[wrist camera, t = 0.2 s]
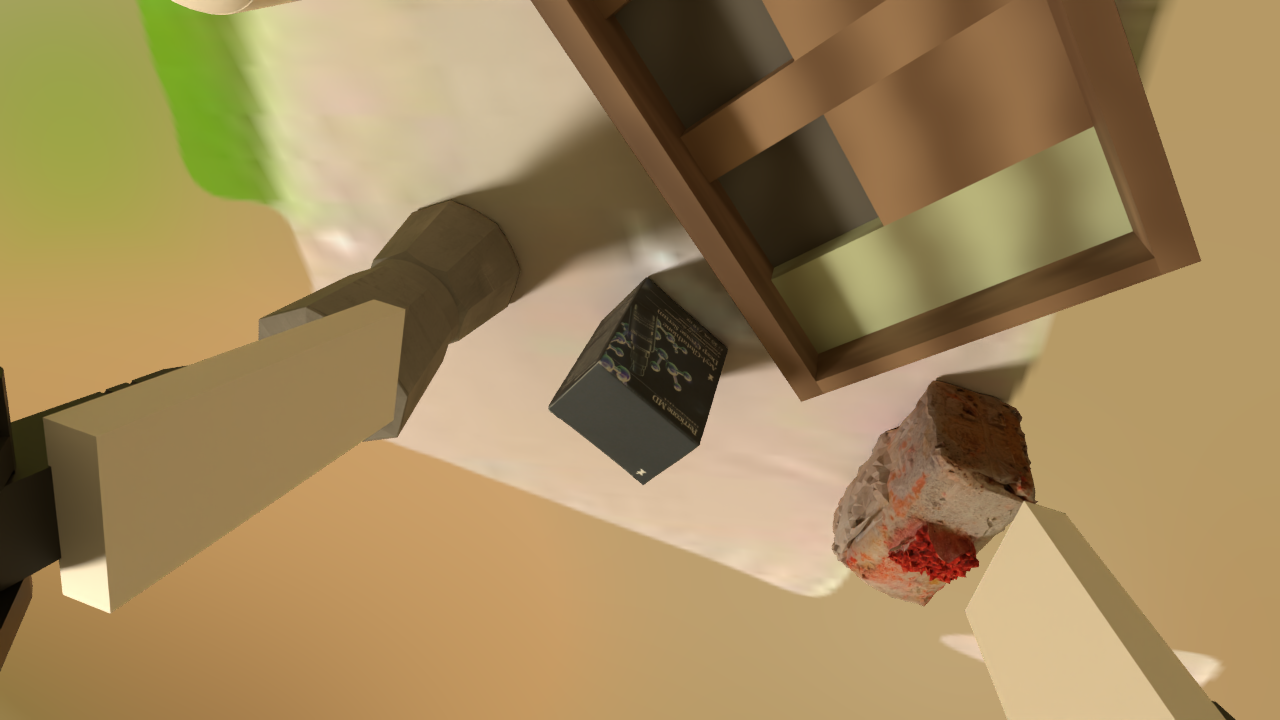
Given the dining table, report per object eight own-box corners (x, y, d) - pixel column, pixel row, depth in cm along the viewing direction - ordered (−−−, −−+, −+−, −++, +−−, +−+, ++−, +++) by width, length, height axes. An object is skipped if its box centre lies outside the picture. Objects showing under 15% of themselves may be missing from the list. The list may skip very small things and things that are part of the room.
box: (730, 346, 44) (701, 448, 36) (678, 387, 48) (641, 488, 39) (647, 272, 43) (597, 361, 34) (599, 320, 46) (543, 411, 38)
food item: (924, 529, 49) (936, 645, 42) (826, 492, 50) (820, 600, 42) (1031, 406, 41) (1071, 524, 33) (911, 364, 41) (924, 470, 34)
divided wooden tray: (862, -629, 21) (863, -750, 17) (1160, 217, 33) (1201, 260, 29) (475, -155, 31) (421, -163, 27) (806, 356, 43) (801, 401, 39)
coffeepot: (464, 151, 41) (262, 282, 27) (565, 258, 44) (428, 427, 30) (358, 274, 50) (164, 421, 36) (448, 357, 52) (299, 524, 38)
